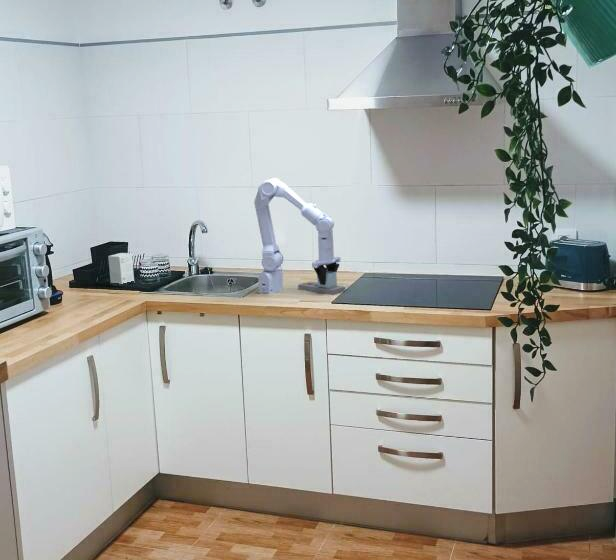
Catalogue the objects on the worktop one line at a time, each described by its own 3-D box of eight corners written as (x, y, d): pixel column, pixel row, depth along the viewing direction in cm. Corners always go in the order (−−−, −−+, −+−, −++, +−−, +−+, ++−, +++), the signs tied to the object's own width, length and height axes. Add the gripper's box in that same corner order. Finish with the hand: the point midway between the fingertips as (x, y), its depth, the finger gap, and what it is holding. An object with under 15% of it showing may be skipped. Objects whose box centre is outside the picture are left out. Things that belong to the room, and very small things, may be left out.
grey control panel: (333, 296, 304) (333, 289, 304) (298, 290, 316) (298, 284, 316) (345, 293, 309) (345, 285, 309) (310, 287, 321) (309, 280, 321)
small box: (123, 282, 346) (120, 252, 343) (134, 283, 343) (132, 253, 340) (110, 286, 339) (107, 255, 336) (122, 287, 336) (119, 256, 333)
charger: (329, 292, 307) (328, 272, 305) (317, 291, 311) (317, 270, 309) (336, 290, 310) (336, 270, 309) (325, 288, 314) (324, 268, 312)
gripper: (321, 252, 299) (322, 287, 302) (346, 246, 310) (347, 281, 313) (307, 250, 304) (308, 285, 307) (332, 245, 314) (333, 279, 317)
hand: (327, 283), depth 310 cm, fingers closed on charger, 5 cm apart
